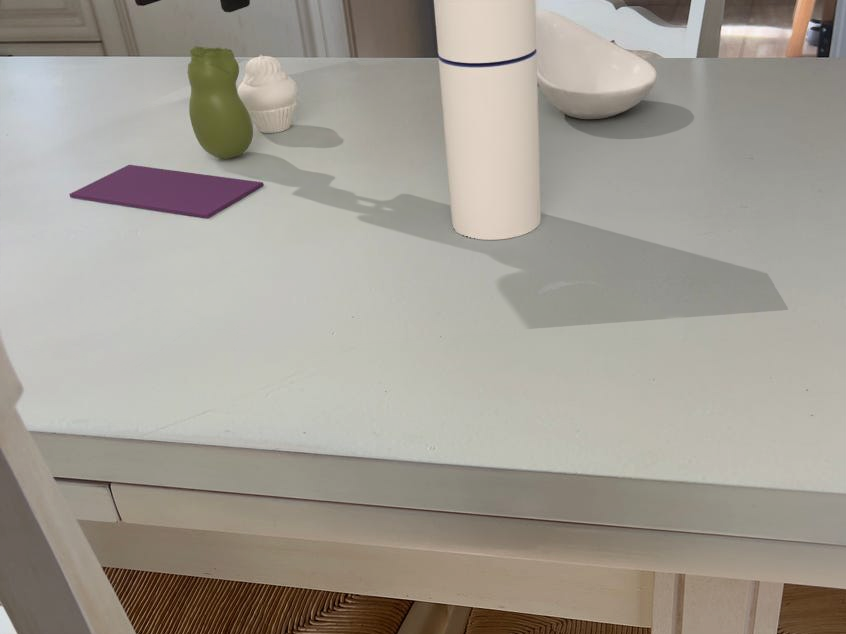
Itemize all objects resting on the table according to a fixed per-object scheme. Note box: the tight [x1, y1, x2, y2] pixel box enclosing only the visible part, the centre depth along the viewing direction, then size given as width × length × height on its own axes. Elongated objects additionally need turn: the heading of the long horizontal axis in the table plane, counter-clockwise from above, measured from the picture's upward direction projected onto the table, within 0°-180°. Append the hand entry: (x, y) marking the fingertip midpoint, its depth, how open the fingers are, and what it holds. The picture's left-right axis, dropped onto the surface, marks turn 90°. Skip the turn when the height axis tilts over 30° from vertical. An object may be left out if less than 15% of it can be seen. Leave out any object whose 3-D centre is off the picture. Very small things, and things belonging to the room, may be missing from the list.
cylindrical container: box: [433, 0, 542, 241], centre depth 74 cm, size 7×7×25 cm
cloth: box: [69, 164, 264, 219], centre depth 92 cm, size 16×8×1 cm, turn 63°
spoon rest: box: [536, 9, 658, 120], centre depth 104 cm, size 24×12×7 cm, turn 28°
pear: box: [187, 45, 254, 160], centre depth 95 cm, size 6×5×10 cm
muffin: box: [237, 54, 299, 134], centre depth 102 cm, size 6×6×7 cm
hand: (192, 5), depth 90 cm, fingers open, 9 cm apart
